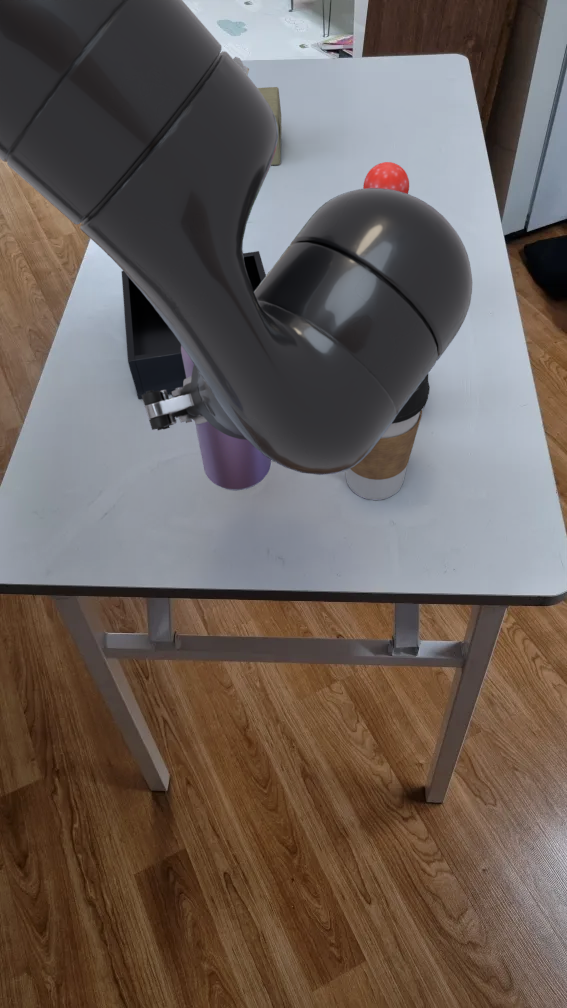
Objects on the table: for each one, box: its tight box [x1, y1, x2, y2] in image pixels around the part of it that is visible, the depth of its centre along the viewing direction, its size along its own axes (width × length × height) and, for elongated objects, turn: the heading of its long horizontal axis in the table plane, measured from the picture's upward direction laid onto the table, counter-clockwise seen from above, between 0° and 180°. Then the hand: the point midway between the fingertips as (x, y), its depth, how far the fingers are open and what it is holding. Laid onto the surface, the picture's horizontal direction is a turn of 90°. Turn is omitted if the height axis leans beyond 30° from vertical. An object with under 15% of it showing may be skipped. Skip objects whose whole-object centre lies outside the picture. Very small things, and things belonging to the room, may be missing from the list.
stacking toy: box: [362, 161, 410, 194], centre depth 86 cm, size 8×8×19 cm
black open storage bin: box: [121, 250, 267, 400], centre depth 88 cm, size 18×18×6 cm
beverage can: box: [181, 345, 272, 492], centre depth 58 cm, size 6×6×15 cm
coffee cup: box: [345, 373, 430, 501], centre depth 69 cm, size 8×8×15 cm
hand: (223, 395), depth 59 cm, fingers closed on beverage can, 6 cm apart
